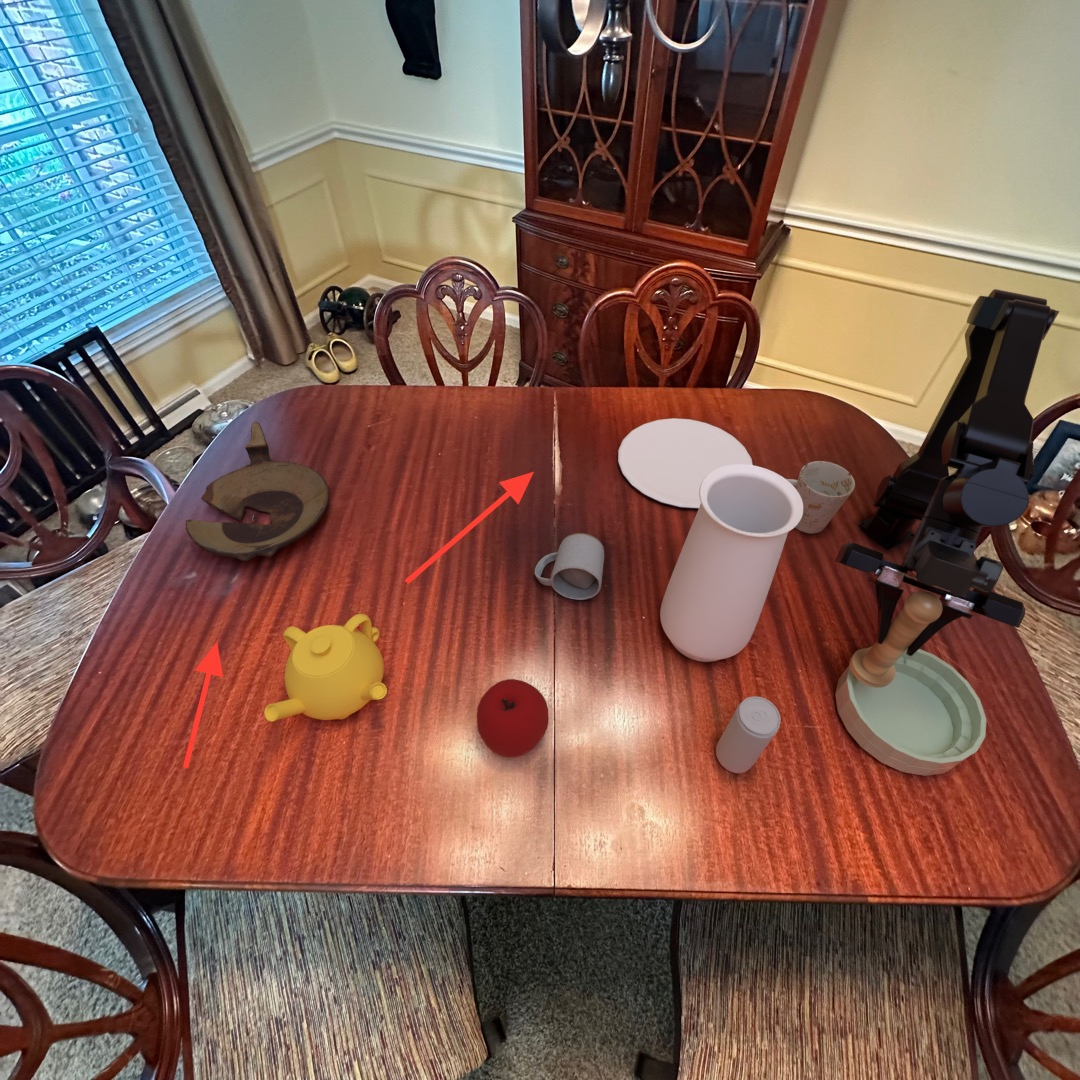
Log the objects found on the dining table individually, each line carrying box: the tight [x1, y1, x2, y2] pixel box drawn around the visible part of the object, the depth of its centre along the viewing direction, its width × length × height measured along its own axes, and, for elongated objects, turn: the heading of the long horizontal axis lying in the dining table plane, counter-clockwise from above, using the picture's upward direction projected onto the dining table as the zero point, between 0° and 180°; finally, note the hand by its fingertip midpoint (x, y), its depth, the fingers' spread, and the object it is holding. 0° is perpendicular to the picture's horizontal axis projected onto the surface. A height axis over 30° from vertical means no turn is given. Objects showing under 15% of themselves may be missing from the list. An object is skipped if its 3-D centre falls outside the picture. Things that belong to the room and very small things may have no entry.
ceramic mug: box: [534, 532, 605, 601], centre depth 92 cm, size 11×8×8 cm
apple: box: [476, 678, 550, 758], centre depth 75 cm, size 9×9×10 cm
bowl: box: [835, 645, 987, 777], centre depth 78 cm, size 16×16×5 cm
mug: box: [785, 460, 856, 534], centre depth 100 cm, size 8×13×10 cm, turn 78°
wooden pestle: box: [849, 590, 942, 688], centre depth 71 cm, size 5×5×16 cm
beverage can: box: [715, 695, 782, 774], centre depth 72 cm, size 5×5×12 cm
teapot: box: [263, 613, 388, 722], centre depth 78 cm, size 14×14×11 cm
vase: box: [659, 464, 803, 663], centre depth 78 cm, size 13×13×28 cm
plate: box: [617, 418, 754, 510], centre depth 112 cm, size 25×25×1 cm
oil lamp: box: [185, 421, 330, 562], centre depth 102 cm, size 22×30×8 cm
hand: (893, 649), depth 71 cm, fingers closed on wooden pestle, 3 cm apart
